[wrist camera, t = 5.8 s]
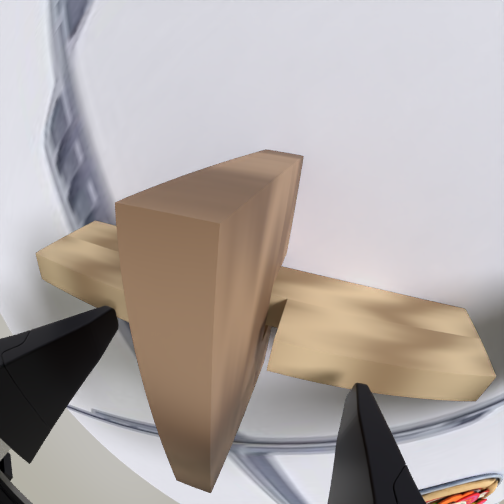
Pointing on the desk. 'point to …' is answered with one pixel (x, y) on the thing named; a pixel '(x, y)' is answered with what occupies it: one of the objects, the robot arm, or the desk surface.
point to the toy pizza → (463, 490)
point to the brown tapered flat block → (205, 297)
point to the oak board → (316, 325)
